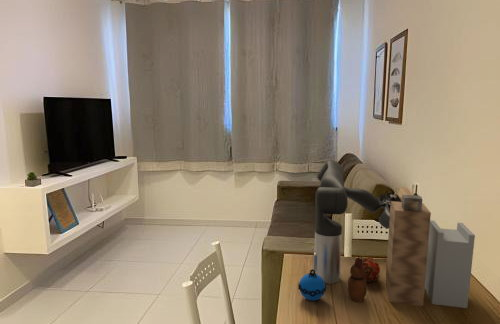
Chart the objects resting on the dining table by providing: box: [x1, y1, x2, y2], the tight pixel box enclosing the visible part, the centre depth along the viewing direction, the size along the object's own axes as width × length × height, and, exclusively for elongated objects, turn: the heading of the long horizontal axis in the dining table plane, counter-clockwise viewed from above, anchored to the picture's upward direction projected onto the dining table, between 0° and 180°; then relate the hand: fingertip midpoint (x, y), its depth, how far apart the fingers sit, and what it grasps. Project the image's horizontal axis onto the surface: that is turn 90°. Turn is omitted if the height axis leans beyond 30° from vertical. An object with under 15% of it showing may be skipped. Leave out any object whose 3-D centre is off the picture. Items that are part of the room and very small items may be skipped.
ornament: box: [297, 268, 327, 301], centre depth 118 cm, size 9×9×10 cm
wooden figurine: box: [347, 255, 367, 302], centre depth 118 cm, size 7×6×15 cm
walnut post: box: [384, 201, 432, 307], centre depth 119 cm, size 10×11×30 cm
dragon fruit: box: [362, 256, 381, 283], centre depth 132 cm, size 8×8×12 cm
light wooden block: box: [397, 186, 423, 212], centre depth 121 cm, size 5×20×4 cm, turn 166°
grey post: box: [424, 220, 476, 309], centre depth 119 cm, size 10×12×24 cm
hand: (402, 195), depth 130 cm, fingers open, 8 cm apart
